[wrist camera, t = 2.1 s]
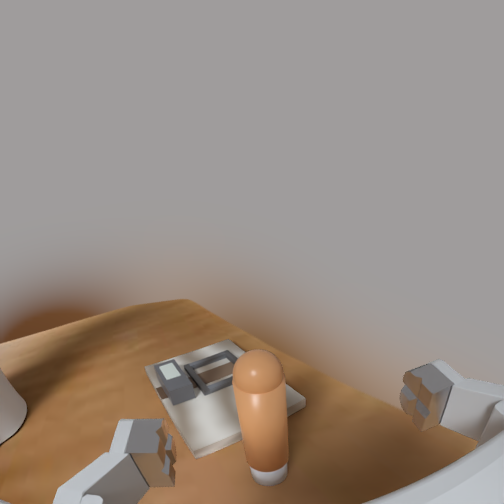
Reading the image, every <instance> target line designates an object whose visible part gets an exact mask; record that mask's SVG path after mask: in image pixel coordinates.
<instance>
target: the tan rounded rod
mask: <svg viewBox="0 0 504 504" xmlns="http://www.w3.org/2000/svg"><path fill="white" fill-rule="evenodd" d="M232 384H233V390H234V395H235V401H236V407H237V412H238V417H239V423H240V428H241V433H242V439H243V444H244V449H245V454H246V459H247V463H248V464H249V466H250V468H251V474H252V478H253V479H254V481H255V482H257V483H258V484H260V485H263V486H274V485H277V484H279V483H281V482H282V481H284V480H285V478H286V477H287V473H288V471H287V461H288V459H289V445H288V423H287V403H286V384H285V375H284V373H283V367H282V364H281V362H280V360H279V359H278V358H277V357H276V356H275V355H274V354H272V353H271V352H269V351H266V350H262V349H254V350H250V351H247V352H245V353H244V354H242V355H241V356H240V357H239V358H238V359H237V361H236V362H235V364H234V367H233V380H232Z"/></svg>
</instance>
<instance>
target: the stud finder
mask: <svg viewBox="0 0 504 504" xmlns="http://www.w3.org/2000/svg"><path fill="white" fill-rule="evenodd" d="M154 369H155V373H156V376H157V379H158V381H159V383H160V384H161V386H162V388H163V389H164V391H165V393H166V395H167V396H168V398H169V400H170V401H171V403H172V405H173V406H174V405H177V404H180V403H182V402H185V401H188V400H191V399H193V398H196V396H195V392H194V389H193V385H192V383H191V381H190V380H189V379H188V377H187V376H186V375H185V373H184V372H183V371H182V369H181V368H180V366H179V365H178V364H177V362H176V361H175V360H174V359H172V360H169V361H166V362H163V363H160V364H157V365H154Z"/></svg>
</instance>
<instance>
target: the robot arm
mask: <svg viewBox="0 0 504 504" xmlns="http://www.w3.org/2000/svg"><path fill="white" fill-rule="evenodd" d="M403 382H404V383H405V386H404V387H403V389H402V390H401V393H400V403H401V406H402V408H403V410H404V411H405V413H406V414H409V415H412V416H413V419H412V421H413V423H414V424H415V425H416V426H417V427H418V429H419V430H420V431H421V432H422V431H425V430H427V429H429V428H432V427H434V426H436V425H438V424H440V425H441V426H444V427H446V428H448V429H451V430H453V431H455V432H458V433H460V434H462V435H465V436H467V437H469V438H472V439H474V440H477V441H478V443H477V445H476V447H475V449H474V450H473V451H471V452H470V453H468V454H467V455H465V456H463V457H462V458H460V459H458V460H456V461H455V462H453V463H451V464H449V465H448V466H446V467H444V468H442V469H440V470H438V471H436V472H435V473H433V474H431V475H429V476H427V477H425V478H423V479H420V480H418V481H416V482H414V483H412V484H410V485H408V486H405V487H403V488H401V489H398V490H396V491H394V492H391V493H389V494H386V495H384V496H381V497H379V498H376V499H373V500H370V501H368V502H365V503H362V504H504V385H500V384H495V383H490V382H484V381H480V380H475V379H471V378H467V379H465V378H464V377H462V376H461V375H460V374H459V373H458V372H456V371H455V370H454V369H453V368H452V367H450V366H449V365H448V364H447V363H446V362H444V361H443V360H441V359H438V360H435V361H433V362H430V363H428V364H426V365H423V366H420V367H418V368H415V369H412V370H410V371H407V372H406V373H405V375H404V377H403ZM26 413H27V405H26V402H25V400H24V399H23V398H22V397H21V396H20V395H19V394H18V393H17V391H16V390H15V389H14V388H13V386H12V385H11V384H10V382H9V381H8V379H7V378H6V376H5V375H4V373H3V371H2V370H1V368H0V444H1V443H2V442H3V441H5V440H6V439H8V438H9V437H11V436H12V435H13V434H14V433H15V432H16V431H17V430H18V429H19V427H20V426H21V425H22V423H23V421H24V419H25V417H26ZM168 429H169V426H168V424H167V422H166V420H165V419H121V420H120V421H119V422H118V425H117V428H116V431H115V435H114V438H113V441H112V444H111V448H110V451H109V453H104V454H102V455H101V456H100V457H99V458H97V459H96V460H95V461H93V462H92V463H91V464H90V465H88V466H87V467H86V468H84V469H83V470H82V471H80V472H79V473H78V474H76V475H75V476H74V477H72V478H71V479H70V480H68V481H67V482H66V483H64V484H63V485H62V486H60V487H59V488H58V490H57V493H56V496H55V499H54V501H53V504H137V503H138V502H139V501H140V499H141V498H142V497H143V496H144V495H145V493H146V492H147V491H148V490H149V489H150V488H149V487H175V469H174V467H173V464H174V463H175V462H176V456H177V455H176V446H175V442H174V439H173V437H172V436H171V435H170V434H168ZM0 504H11V503H8V502H6V501H3V500H0Z"/></svg>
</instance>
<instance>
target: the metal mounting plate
mask: <svg viewBox="0 0 504 504" xmlns="http://www.w3.org/2000/svg"><path fill="white" fill-rule="evenodd" d="M244 353H245V352H244V351H243V350H242V349H240V348H239V347H238V346H237V345H235V344H234V343H233V342H232V341H230V340H229V339H227V340H224V341H221V342H218V343H216V344H213V345H210V346H207V347H204V348H201V349H198V350H195V351H192V352H189V353H186V354H183V355H180V356H177V357H174V358H171V359H168V360H165V361H161V362H158V363H155V364H152V365H149V366H145V370H146V373H147V376H148V378H149V380H150V381H151V383H152V385H153V387H154V389H155V391H156V393H157V395H158V397H159V398H160V400H161V402H162V404H163V406H164V407H165V409H166V411H167V413H168V415H169V416H170V418H171V420H172V421H173V423H174V425H175V427H176V428H177V430H178V432H179V433H180V435H181V436H182V438H183V440H184V441H185V443H186V445H187V446H188V448H189V449H190V451H191V452H192V454H193V455H194V457H195V459H198V458H200V457H203V456H205V455H208V454H210V453H213V452H215V451H217V450H220V449H222V448H224V447H227V446H229V445H231V444H233V443H236V442H238V441H240V440H242V433H241V428H240V423H239V417H238V412H237V407H236V401H235V395H234V390H233V384H232V380H233V367H234V364H235V362H236V361H237V359H238V358H239V357H240V356H241V355H242V354H244ZM172 359H174V360H175V361H176V362H177V364H178V365H179V366H180V368H181V369H182V371H183V372H184V373H185V375H186V376H187V377H188V379H189V380H190V381H191V383H192V385H193V389H194V392H195V396H196V398H193V399H191V400H188V401H185V402H182V403H180V404H177V405H174V406H173V405H172V403H171V401H170V400H169V398H168V396H167V395H166V393H165V391H164V389H163V388H162V386H161V384H160V383H159V381H158V379H157V376H156V373H155V369H154V365H157V364H160V363H163V362H166V361H169V360H172ZM285 384H286V383H285ZM286 403H287V417H288V416H290V415H292V414H293V413H295V412H297V411H299V410H300V409H302V408H304V407H306V398H305V397H303V396H302V395H301V394H299V393H298V392H297V391H295V390H294V389H292V388H291V387H290V386H288V385H287V384H286Z"/></svg>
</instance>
